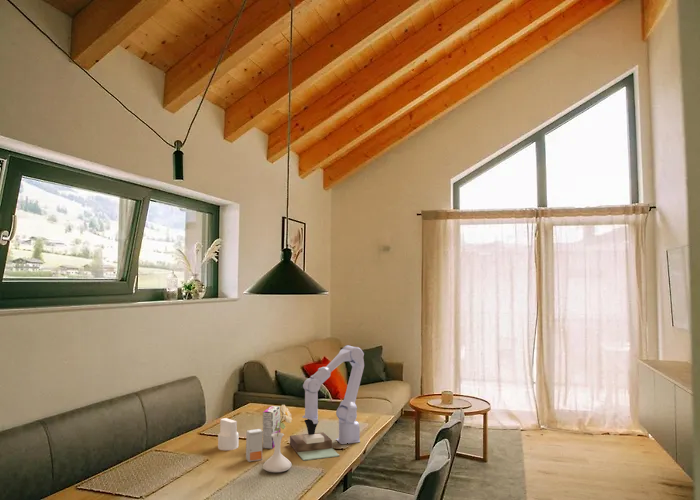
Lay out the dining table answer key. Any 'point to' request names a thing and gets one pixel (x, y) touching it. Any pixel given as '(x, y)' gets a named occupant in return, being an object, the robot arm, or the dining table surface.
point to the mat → (318, 454)
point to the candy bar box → (270, 425)
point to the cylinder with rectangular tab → (228, 435)
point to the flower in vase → (277, 459)
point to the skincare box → (254, 444)
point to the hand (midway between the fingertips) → (311, 436)
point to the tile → (313, 438)
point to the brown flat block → (301, 446)
